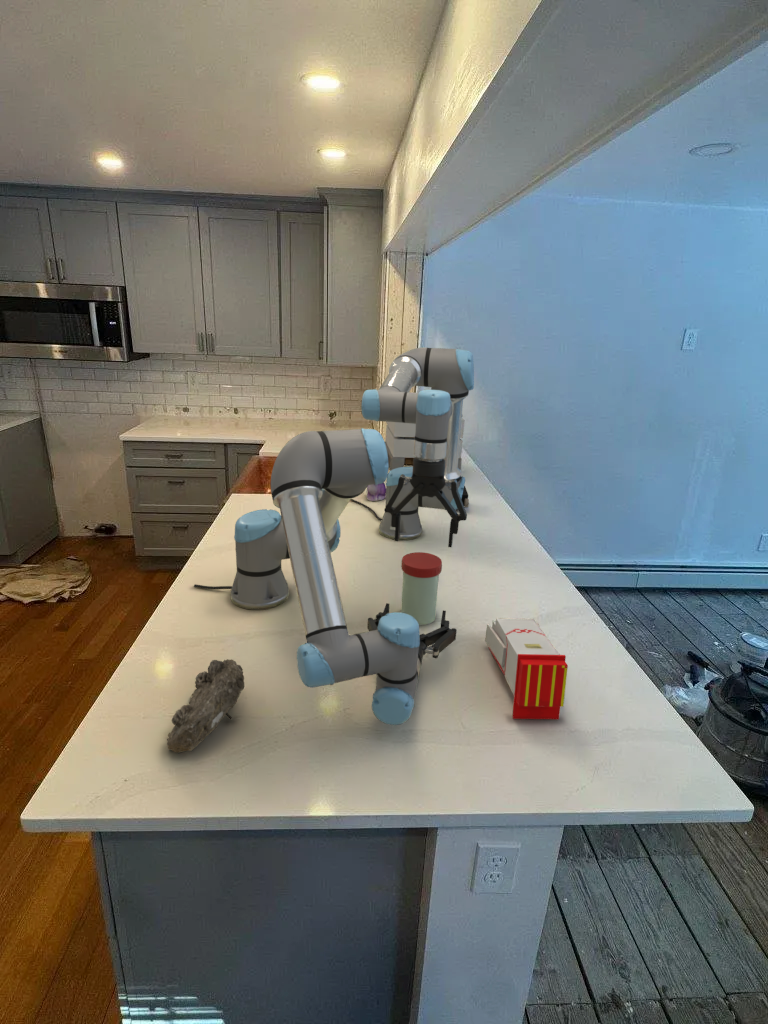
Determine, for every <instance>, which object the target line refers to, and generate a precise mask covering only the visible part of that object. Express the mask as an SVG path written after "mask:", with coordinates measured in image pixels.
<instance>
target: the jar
mask: <svg viewBox="0 0 768 1024" xmlns="http://www.w3.org/2000/svg"><path fill="white" fill-rule="evenodd" d="M439 576H440V574H439V575H437V576H435V577H430V578H418V577H413V576H410V575H408V574H406V573H404V572H403V571H402V587H401V602H400V603H401V605H400V613H405V614H408V615H410V616H412V617H414V618H415V619H416V620H417V622H418V624H419V626H426V625H430V624H432V623H433V622H434V621H435V620H436V612H437V601H438V589H439V587H438V586H439V578H440V577H439Z"/></svg>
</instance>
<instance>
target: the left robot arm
mask: <svg viewBox="0 0 768 1024" xmlns="http://www.w3.org/2000/svg"><path fill="white" fill-rule="evenodd" d="M385 442H386V441H385V438H384V437H383V436H382V433H380V432H379V431H378V430H376V429H374V428H363V427H361V428H356V429H355V428H354V429H337V430H336V429H335V430H334V429H333V430H310V431H304V432H301V433H299V434H297V435H295V436H293V437H292V438H291V439H289V440H288V441H287V442H286V443H285V444H284V445H283V446H282V448H281V449H280V451H279V453H278V454H277V456H276V458H275V460H274V463H273V466H272V471H271V474H270V475H271V476H270V493H271V498H272V503H273V505H274V506H275V507H277V508H278V509H279V511H280V512H279V511H277V510H275V509H267V508H266V509H265V508H262V509H256V510H253V511H249V512H246V513H244V514H243V515H241V516H240V517H238V518H237V520H236V521H235V524H234V536H233V539H234V541H235V562H236V563H235V564H236V573H235V575H234V579H233V583H232V585H221V586H220V585H219V586H212V585H211V586H210V585H203V584H196V583H195V584H194V585H193V587H194V588H198V589H203V590H204V589H205V590H230V600H231V602H232V603H233V605H235V606H237V607H239V608H241V609H246V610H251V611H252V610H253V611H254V610H255V611H258V610H259V611H260V610H268V609H272V608H276V607H277V606H280V605H282V604H284V603H285V602H286V601H287V600H288V599H289V596H290V589H289V588H290V587H289V583H288V580H287V578H286V577H285V574H284V571H283V570H282V561H283V560H289V561H290V566H291V571H292V575H293V581H294V585H295V591H296V595H297V601H298V605H299V611H300V615H301V620H302V626H303V630H304V636H305V641H306V642H305V643H303V644H300V645H299V646H298V647H297V650H296V663H297V664H296V665H297V671H298V674H299V678H300V681H301V682H302V684H303V685H304V686H305V687H307V688H318V687H323V686H329V685H330V686H333V685H335V684H337V683H342V682H346V681H349V680H354V679H358V678H363V677H368V676H373V675H376V676H375V677H376V679H375V689H374V693H372V700H371V710H372V713H373V715H374V717H375V718H376V719H377V720H379V721H380V722H382V723H383V724H386V725H390V726H399V725H402V724H404V723H406V722H407V721H408V720H409V719H410V717H411V715H412V712H413V709H414V708H415V698H416V694H417V688H418V683H419V678H420V672H421V670H422V669H421V668H422V664H423V658H424V656H425V655H426V654H427V655H432V658H433V659H438V658H439V657H440V654H441V653H442V652H444V651H445V649H446V648H448V647H449V646H451V644H452V643H454V642H455V641H456V639H457V629H456V628H454V627H453V628H450V620H447V619H446V615H447V611H446V610H445V609H443V610H442V612H441V619H440V626H439V628H436V629H434V630H432V631H429V632H427V633H421V632H420V625H419V624H418V622H417V620H416V619H415V618H414V617H412V616H410V615H408V614H405V613H401V611H399V612H398V611H397V612H395V611H393V612H390V603H387V602H386V603H385V606H384V608H383V612H381V611H379V612H378V614H376V615H375V618H373V617H368V618H367V627H366V628H367V631H364V632H360V633H359V632H358V633H353V634H350V633H349V630H348V625H347V620H346V616H345V610H344V606H343V602H342V597H341V593H340V589H339V583H338V579H337V576H336V571H335V566H334V563H333V562H334V561H333V557H332V552H334V551H336V550H337V548H338V546H339V545H340V541H341V540H340V538H341V524H340V520H339V518H340V517H341V515H342V514H343V512H344V510H345V509H346V507H347V506H348V504H349V503H350V501H351V499H356V498H358V497H360V496H361V495H362V494H363V493H364V492H365V491H366V490H367V486H368V485H372V484H375V485H378V484H382V483H384V484H385V483H386V481H387V475H388V473H389V467H388V454H387V449H386V445H385ZM420 633H421V634H420Z"/></svg>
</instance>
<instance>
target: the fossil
mask: <svg viewBox="0 0 768 1024" xmlns="http://www.w3.org/2000/svg"><path fill="white" fill-rule="evenodd" d="M243 670H244V669H243V667H242V665H240V664H237V662H236V661H235V660H234V659H232V658H231V659H227V658H226V659H224V660H223V661H222V660H217V659H212V660H211V661H210V663H209V665H208V666H207V671H201V672H199V673H198V674H197V675H196V676H195V680H194V684H195V685H194V687H195V689H194V690H193V693H192V694H191V697H190V698H189V700H188V704H184V705H182V706H181V707H180V709H177V710H176V711H175V713H174V715H173V716H172V718H171V723H172V724H173V727H172V730H171V731H170V732H168V734H167V738H166V741H167V742H166V745H167V749H168V750H169V751H173V752H174V753H176V754H178V753H182V752H188V751H189V752H192V751H193V750H195V748H196V747H197V746H199V744H200V743H201V742H203V741H204V740H205V739H206V738H207V737H208V736H209V735H210V734H211V733H212V732H214V730H215V729H217V727H218V726H219V724H220V722H221V721H222V720H223V719H224V718H225V716H226V717H227V719H229V720H233V717H232V715H230V714H229V710H230V709H231V708H234V706H235V704H236V703H237V702H238V699H239V697H240V695H241V693H242V691H243V690H245V689H244V688H245V675H244V671H243Z"/></svg>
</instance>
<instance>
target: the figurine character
mask: <svg viewBox="0 0 768 1024" xmlns="http://www.w3.org/2000/svg"><path fill="white" fill-rule="evenodd" d="M461 500H462V502H463V505H464V508H469V505H470V500H469V492H468V490H467V488H466V485H464V489H463V494H462V498H461ZM457 511H458V509H456V512H457Z"/></svg>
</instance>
